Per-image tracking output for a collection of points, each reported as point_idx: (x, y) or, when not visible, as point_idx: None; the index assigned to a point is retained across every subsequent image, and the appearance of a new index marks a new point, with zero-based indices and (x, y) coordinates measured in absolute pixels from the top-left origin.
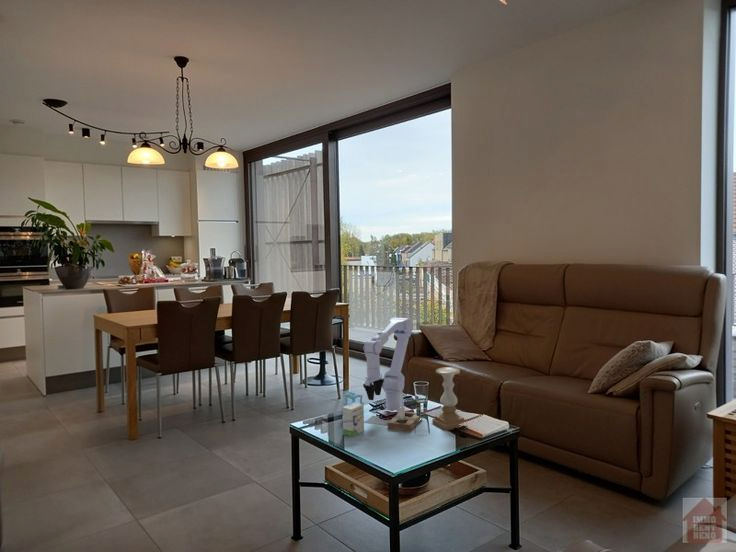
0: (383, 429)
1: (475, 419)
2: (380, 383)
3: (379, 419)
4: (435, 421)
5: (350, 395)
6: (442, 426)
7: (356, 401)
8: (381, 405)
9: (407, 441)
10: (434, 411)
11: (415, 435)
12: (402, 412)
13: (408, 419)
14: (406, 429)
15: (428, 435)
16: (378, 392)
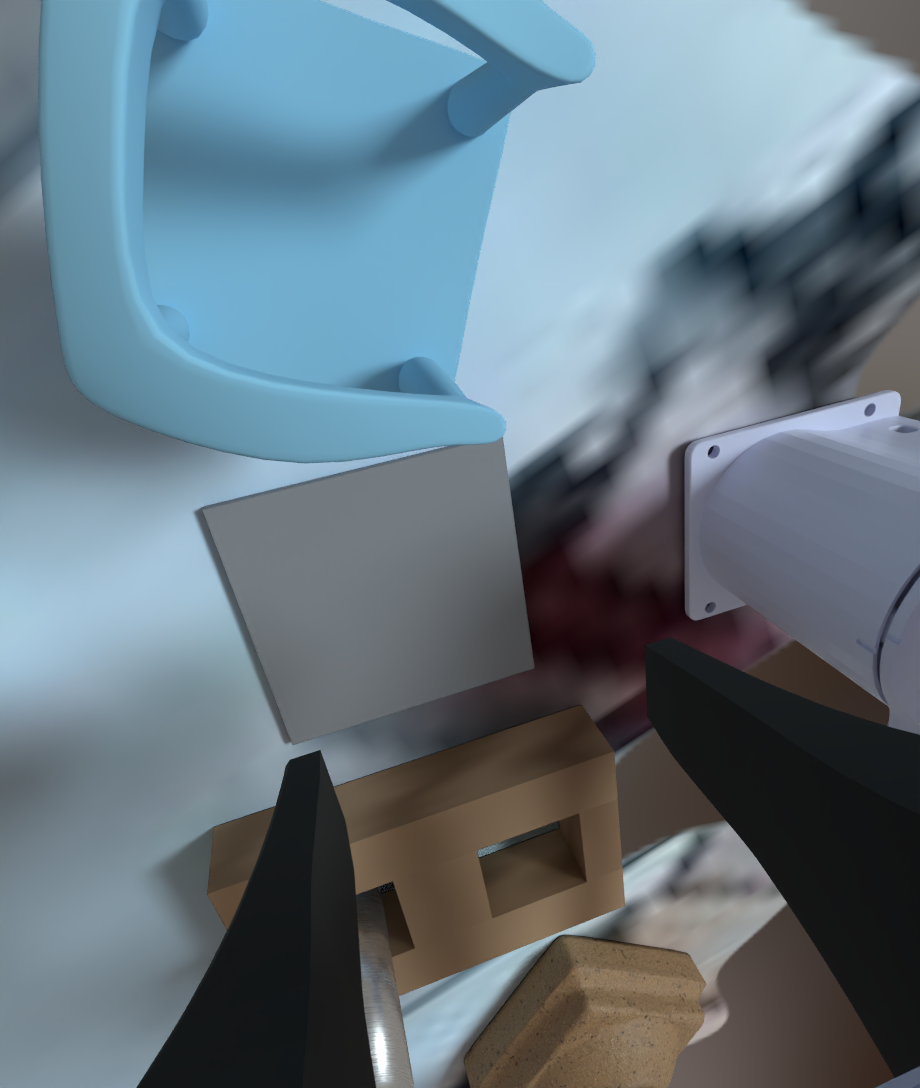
0: (192, 795)
1: (718, 1021)
2: (846, 961)
3: (418, 593)
4: (542, 999)
5: (64, 261)
6: (487, 1054)
7: (456, 204)
8: (897, 271)
9: (91, 1078)
10: None
11: None
12: None
13: (421, 943)
14: None
15: None
16: (680, 736)
